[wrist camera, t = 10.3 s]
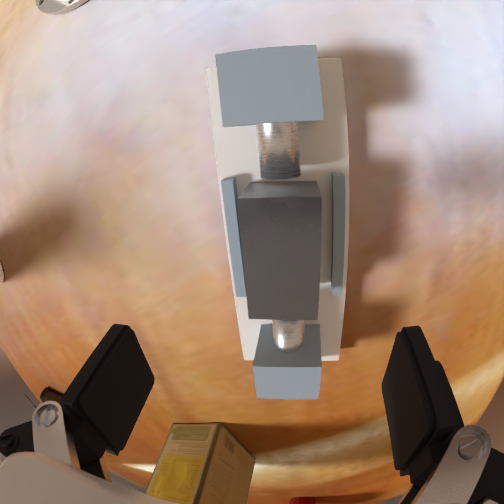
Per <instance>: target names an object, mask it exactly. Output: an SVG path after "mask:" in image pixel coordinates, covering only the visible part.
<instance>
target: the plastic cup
mask: <svg viewBox="0 0 504 504" xmlns="http://www.w3.org/2000/svg"><path fill="white" fill-rule="evenodd" d="M289 504H315V501H314V499H313V498H307V497H298V498H292V499H291V500H290V502H289Z"/></svg>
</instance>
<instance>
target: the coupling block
mask: <svg viewBox="0 0 504 504" xmlns="http://www.w3.org/2000/svg"><path fill="white" fill-rule="evenodd" d="M238 210H239V221H240V232H241V243H242V254H243V265H244V276H245V286H246V297H247V307H248V317H249V319H268V320H318V306H319V289H320V266H321V230H322V196H321V193H320V190H319V187H318V184H317V181H272V182H250V183H249V185H248V186H247V187H246V188H245V190H244V191H243V192H242V193H241V195H240V196H239V197H238Z"/></svg>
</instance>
